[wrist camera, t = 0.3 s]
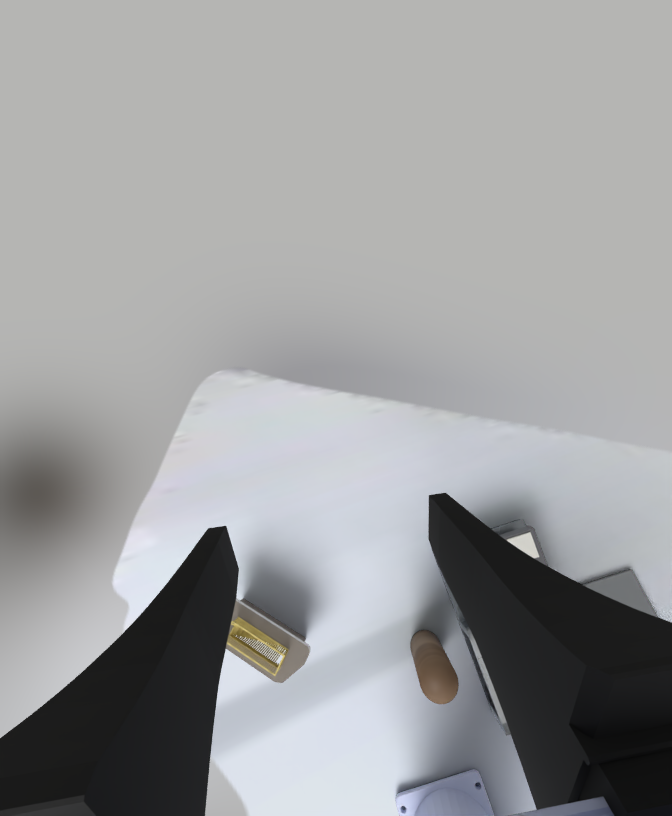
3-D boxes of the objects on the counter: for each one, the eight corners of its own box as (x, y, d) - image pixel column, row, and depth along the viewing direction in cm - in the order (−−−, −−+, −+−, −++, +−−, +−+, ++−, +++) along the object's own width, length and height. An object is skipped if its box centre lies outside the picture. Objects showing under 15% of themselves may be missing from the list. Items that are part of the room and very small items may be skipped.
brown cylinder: (445, 659, 35) (464, 697, 27) (416, 668, 35) (427, 709, 28) (434, 626, 36) (449, 654, 28) (406, 635, 36) (413, 665, 28)
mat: (677, 658, 33) (680, 660, 33) (595, 684, 33) (598, 686, 33) (629, 569, 36) (632, 569, 35) (553, 593, 36) (555, 594, 35)
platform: (318, 736, 35) (305, 783, 28) (174, 635, 39) (136, 657, 33) (370, 615, 37) (369, 633, 31) (231, 533, 42) (205, 535, 35)
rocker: (550, 585, 35) (557, 590, 33) (463, 613, 35) (466, 619, 34) (528, 525, 35) (534, 528, 34) (442, 553, 35) (445, 557, 34)
